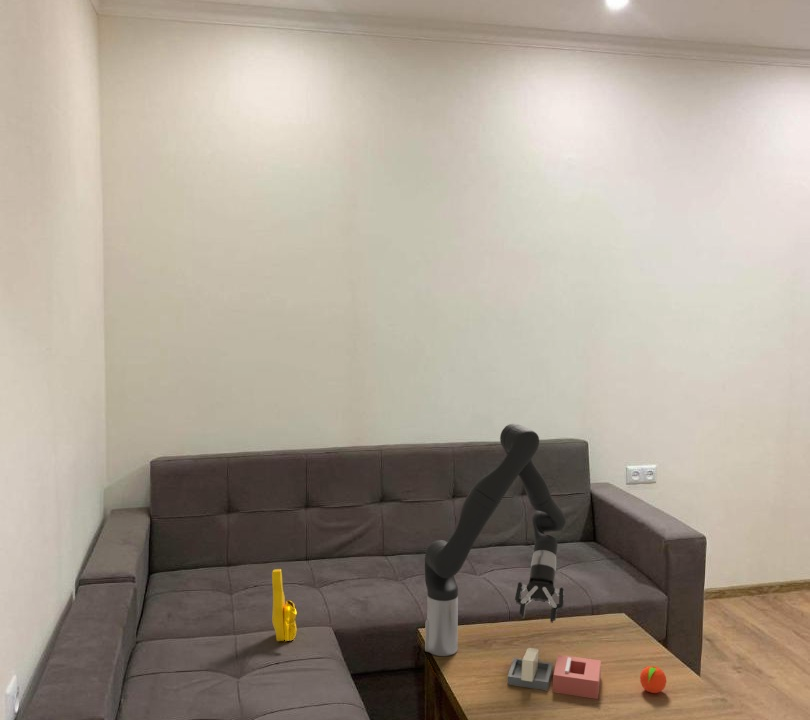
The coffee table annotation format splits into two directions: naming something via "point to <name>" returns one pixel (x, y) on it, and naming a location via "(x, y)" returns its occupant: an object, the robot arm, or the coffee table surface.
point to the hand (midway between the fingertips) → (537, 619)
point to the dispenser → (577, 676)
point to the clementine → (653, 679)
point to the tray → (540, 677)
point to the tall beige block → (529, 664)
